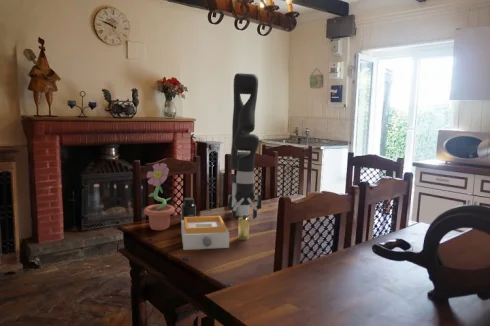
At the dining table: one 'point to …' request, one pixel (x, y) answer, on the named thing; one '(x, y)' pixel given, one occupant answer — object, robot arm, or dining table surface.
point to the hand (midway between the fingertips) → (244, 218)
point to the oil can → (243, 228)
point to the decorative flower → (158, 212)
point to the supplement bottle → (188, 208)
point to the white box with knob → (204, 233)
